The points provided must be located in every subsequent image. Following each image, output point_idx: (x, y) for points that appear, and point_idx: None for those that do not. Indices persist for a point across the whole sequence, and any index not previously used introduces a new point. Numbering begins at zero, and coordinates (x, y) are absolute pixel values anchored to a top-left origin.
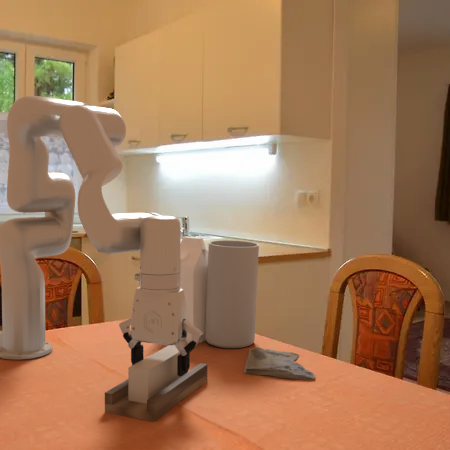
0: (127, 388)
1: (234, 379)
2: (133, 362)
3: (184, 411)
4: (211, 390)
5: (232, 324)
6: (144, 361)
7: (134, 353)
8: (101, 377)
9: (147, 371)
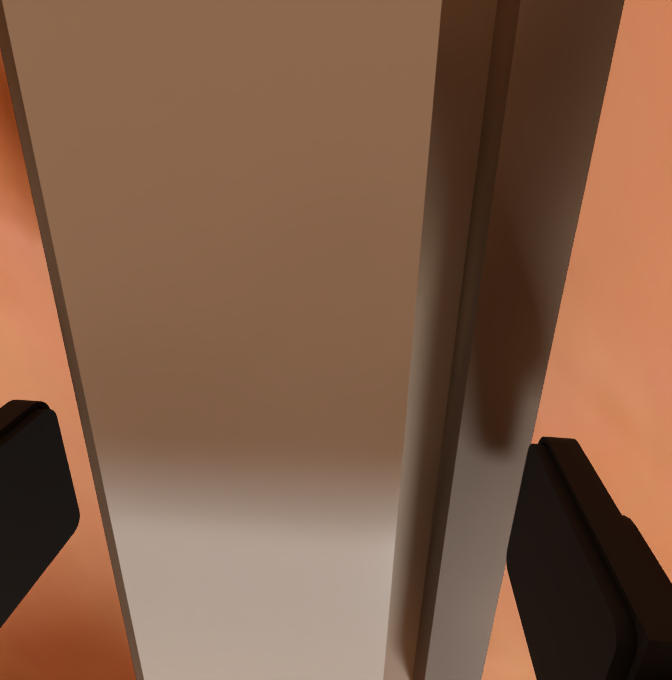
0: (489, 162)
1: (82, 659)
2: (580, 480)
3: (25, 181)
4: (92, 520)
5: None
6: (338, 383)
7: (615, 580)
8: None
9: None
